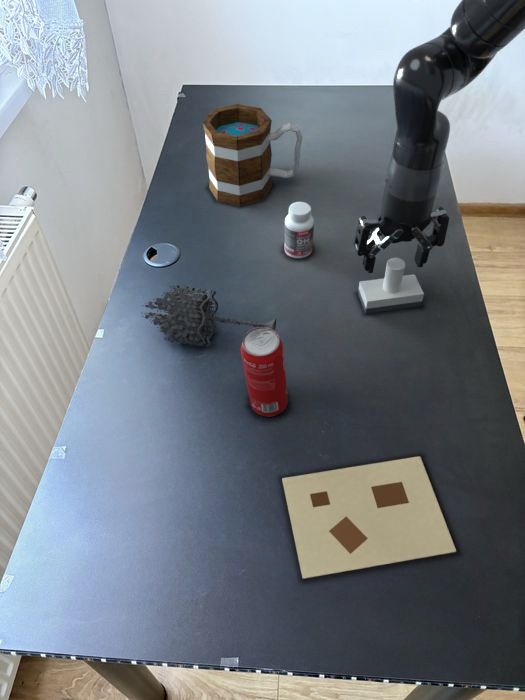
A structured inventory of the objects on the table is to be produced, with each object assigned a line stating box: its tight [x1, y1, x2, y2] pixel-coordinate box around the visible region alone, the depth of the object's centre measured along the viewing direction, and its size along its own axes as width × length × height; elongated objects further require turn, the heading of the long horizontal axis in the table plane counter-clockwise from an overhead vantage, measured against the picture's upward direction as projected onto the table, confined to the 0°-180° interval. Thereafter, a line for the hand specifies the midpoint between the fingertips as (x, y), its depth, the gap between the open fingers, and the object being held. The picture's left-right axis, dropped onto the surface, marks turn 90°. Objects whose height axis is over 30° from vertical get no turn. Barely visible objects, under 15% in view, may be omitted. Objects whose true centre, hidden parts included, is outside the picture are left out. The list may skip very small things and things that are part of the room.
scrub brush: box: [357, 257, 425, 314], centre depth 102 cm, size 10×5×8 cm, turn 99°
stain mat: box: [281, 455, 457, 580], centre depth 80 cm, size 20×14×1 cm
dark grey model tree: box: [140, 284, 277, 347], centre depth 97 cm, size 9×22×9 cm, turn 79°
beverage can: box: [240, 326, 289, 417], centre depth 86 cm, size 6×6×15 cm
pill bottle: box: [283, 201, 315, 259], centre depth 110 cm, size 5×5×10 cm
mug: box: [201, 103, 303, 207], centre depth 122 cm, size 20×14×15 cm
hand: (393, 267), depth 99 cm, fingers open, 8 cm apart
